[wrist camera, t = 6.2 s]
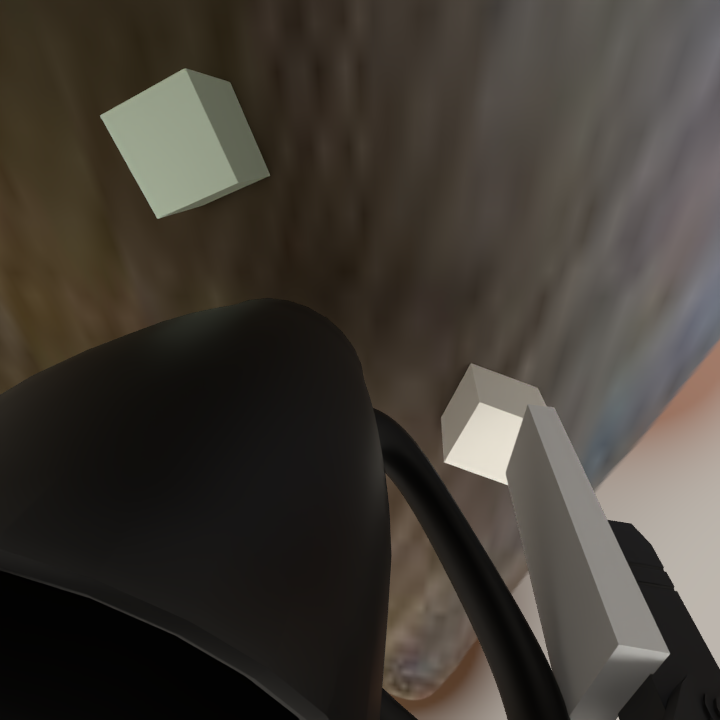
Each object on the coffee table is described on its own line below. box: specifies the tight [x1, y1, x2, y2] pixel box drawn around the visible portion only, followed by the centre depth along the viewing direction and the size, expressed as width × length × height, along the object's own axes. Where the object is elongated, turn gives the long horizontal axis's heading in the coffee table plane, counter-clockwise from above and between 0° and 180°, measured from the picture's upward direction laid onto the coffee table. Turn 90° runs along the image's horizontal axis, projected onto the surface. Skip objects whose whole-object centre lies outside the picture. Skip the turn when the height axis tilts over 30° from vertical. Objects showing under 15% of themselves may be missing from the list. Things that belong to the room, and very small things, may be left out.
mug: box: [0, 298, 570, 720], centre depth 10 cm, size 8×12×10 cm
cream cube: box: [441, 363, 547, 485], centre depth 28 cm, size 5×5×5 cm
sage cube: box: [100, 68, 270, 219], centre depth 22 cm, size 5×5×5 cm
